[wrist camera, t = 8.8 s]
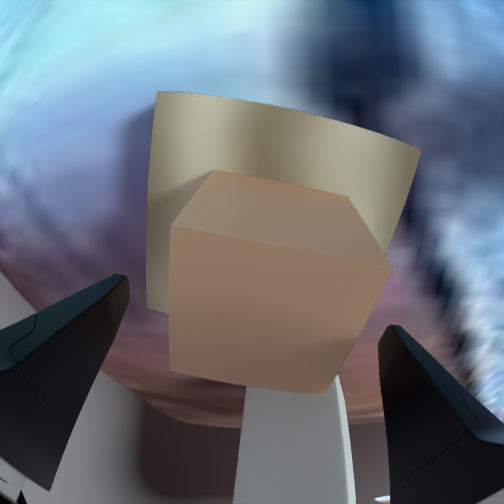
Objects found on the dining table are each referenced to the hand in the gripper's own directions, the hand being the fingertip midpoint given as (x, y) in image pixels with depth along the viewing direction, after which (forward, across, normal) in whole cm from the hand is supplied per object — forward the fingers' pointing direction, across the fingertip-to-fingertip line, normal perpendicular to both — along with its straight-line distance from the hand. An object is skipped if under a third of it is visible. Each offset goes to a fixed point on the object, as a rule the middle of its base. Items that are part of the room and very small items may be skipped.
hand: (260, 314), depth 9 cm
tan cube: (+5, 0, 0) cm, 5 cm away
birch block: (+9, 0, 0) cm, 9 cm away
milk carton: (+9, -6, +15) cm, 19 cm away
